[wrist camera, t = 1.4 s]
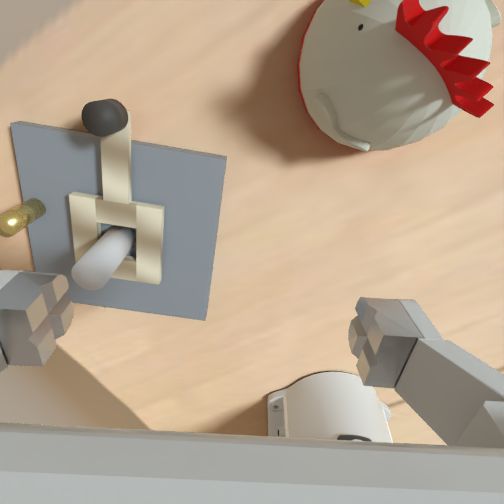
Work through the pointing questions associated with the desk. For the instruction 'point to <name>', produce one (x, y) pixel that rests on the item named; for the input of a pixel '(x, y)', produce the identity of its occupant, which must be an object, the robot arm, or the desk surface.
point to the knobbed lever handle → (117, 197)
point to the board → (149, 185)
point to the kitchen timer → (395, 67)
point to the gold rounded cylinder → (21, 216)
